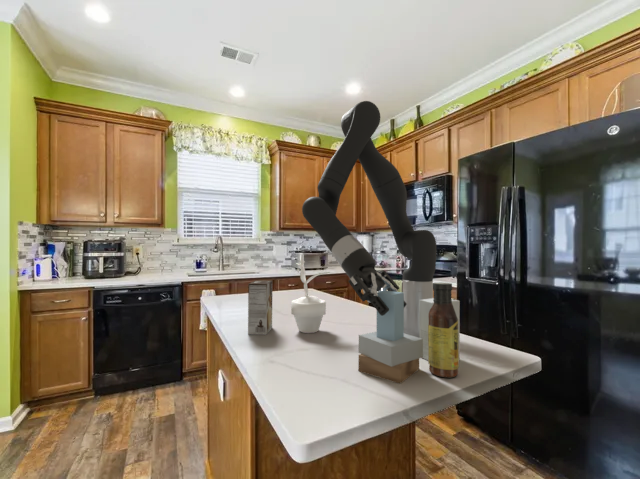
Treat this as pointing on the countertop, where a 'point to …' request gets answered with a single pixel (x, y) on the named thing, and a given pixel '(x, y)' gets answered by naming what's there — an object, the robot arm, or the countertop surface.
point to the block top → (391, 348)
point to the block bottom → (387, 369)
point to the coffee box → (259, 307)
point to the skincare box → (424, 321)
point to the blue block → (391, 316)
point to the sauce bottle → (443, 333)
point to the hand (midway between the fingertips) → (395, 310)
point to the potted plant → (308, 307)
